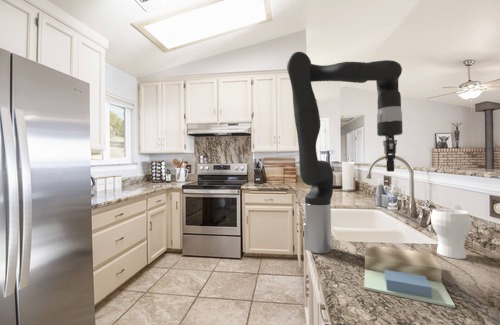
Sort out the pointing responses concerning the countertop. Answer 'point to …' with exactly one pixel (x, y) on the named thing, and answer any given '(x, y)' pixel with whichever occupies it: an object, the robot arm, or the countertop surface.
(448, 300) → the mat
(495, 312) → the countertop surface
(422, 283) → the tile
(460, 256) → the white vase
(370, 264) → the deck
